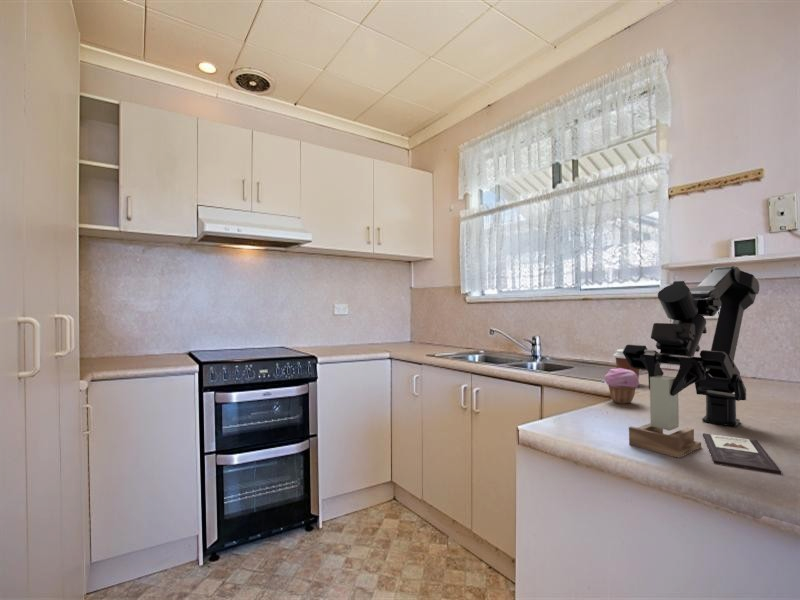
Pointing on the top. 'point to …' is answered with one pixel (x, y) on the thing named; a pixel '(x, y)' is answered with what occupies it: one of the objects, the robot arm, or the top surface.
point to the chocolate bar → (739, 453)
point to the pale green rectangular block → (663, 403)
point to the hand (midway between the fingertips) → (660, 392)
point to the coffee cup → (624, 362)
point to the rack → (663, 440)
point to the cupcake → (622, 384)
